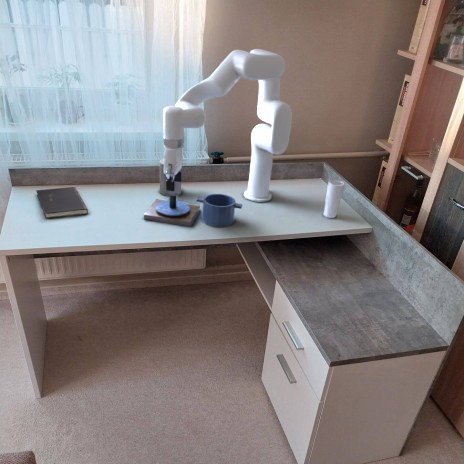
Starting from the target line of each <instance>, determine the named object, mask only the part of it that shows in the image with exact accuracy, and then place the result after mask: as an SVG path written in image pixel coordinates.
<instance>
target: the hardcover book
mask: <svg viewBox="0 0 464 464" xmlns="http://www.w3.org/2000/svg"><path fill="white" fill-rule="evenodd" d="M35 192H36V196H37V199H38V202H39V205H40V208H41V210H42V213H43V215H44V217H45V219H46V220H47V219H57V218H64V217H65V218H66V217H72V216H73V217H74V216H82V215H88V214H89V209H88V208H87V206H86V204H85V202H84V200H83V198H82V197H81V195H80V193H79V191H78V190H77V187H75V186H69V187H67V186H66V187H56V188H45V189H36V190H35Z"/></svg>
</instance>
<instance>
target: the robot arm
mask: <svg viewBox="0 0 464 464" xmlns="http://www.w3.org/2000/svg"><path fill="white" fill-rule="evenodd" d="M285 69H286V61H285V58H284V57H283V56H281V54H278V53H275V52H272V51H268V50H265V49H263V48H262V49H261V48H254V49H251V50H250V51H246V50H242V49H234V50H232V51H231V52H230V53H229V54H228V55H227V56H226V57H225V58H224V59H223V60H222V62H220V64H219V65H218V67H216V69H215V70H214V71H213V72H212V73H211V75H209V76H208V77H207V78H205V79H203V80H201V81H200V82H198V83H196V84H194V85H193V86H191V87H190V88H188V89H187V90H186V91H185V92H184V93H183V94H182V96H181V97H180V98H178V100H177V101H176V103H175V105H167V106H165V107H164V108H163V111H162V117H163V118H162V119H163V120H162V121H163V124H162V125H163V147H164V154H163V159H164V174H166V190H168V191H174V190H175V181H176V182H181V183H182V181H183V180H182V179H183V178H182V174H183V173H182V172H181V171H182V169H183V149H184V148H185V129H200V128H201V127H203V126H204V125H205V124H206V122H207V114H206V111H204V109H203V108H202V107H199V106H200V105H201V104H202V103H204V102H205V101H208V100H211V99H212V100H213V99H218V98H223V97H225V96H226V95H227V94H228V93H229V92H230V91H231V89H232V88H233V87H234V86H235V85H236V84H237V83H238V81H239V80H240V79H241V78H243V79H245V80H249V81H258V97H257V106H256V107H257V109H256V115H257V117H258V119H259V120H260V121H263V122H264V123H259V124H257V125H255V126H254V127H253V129H252V131H251V133H250V134H251V135H250V142H251V143H250V144H251V154H250V166H249V176H248V184H247V189H246V190H245V191H244V192H243V197H244V198H245V199H246V200H248V201H252V202H258V203H265V202H268V201H270V200H271V199H272V193H271V192H270V185H271V178H272V170H273V169H272V168H273V163H274V155H277V156H278V155H282V154H284V152H286V151H287V148H288V146H289V142H290V137H291V129H292V123H293V110H292V109H291V106H290V105H289V104H288V103H287V102H284V101H282V100H281V98H280V97H281V77H282V75H283V74H284V73H285ZM181 168H182V169H181ZM170 172H173V173H170ZM170 175H172V177H171V176H170Z"/></svg>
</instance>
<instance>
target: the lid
mask: <svg viewBox="0 0 464 464" xmlns="http://www.w3.org/2000/svg"><path fill="white" fill-rule="evenodd" d="M168 197H169V198H168V200H165V201H162V202H160V203H158V204H157V205H156V211H157V212H159V213H161V214H163V215H167V216H181V215H185V214H187V213H188V212H189V211H190V207H189V205H187V204H188V203H186V202H184V201H181V200H177V196H176V194H175V193H170V194H169V196H168Z"/></svg>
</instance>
